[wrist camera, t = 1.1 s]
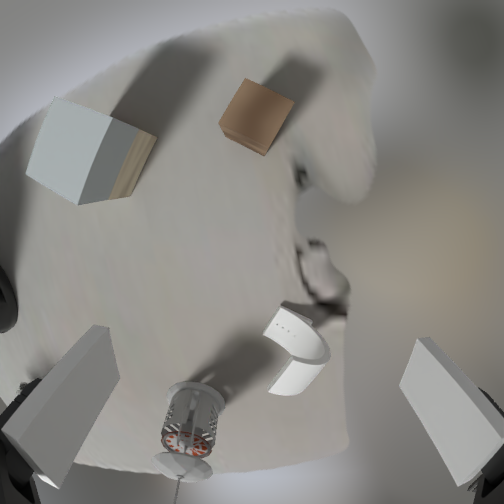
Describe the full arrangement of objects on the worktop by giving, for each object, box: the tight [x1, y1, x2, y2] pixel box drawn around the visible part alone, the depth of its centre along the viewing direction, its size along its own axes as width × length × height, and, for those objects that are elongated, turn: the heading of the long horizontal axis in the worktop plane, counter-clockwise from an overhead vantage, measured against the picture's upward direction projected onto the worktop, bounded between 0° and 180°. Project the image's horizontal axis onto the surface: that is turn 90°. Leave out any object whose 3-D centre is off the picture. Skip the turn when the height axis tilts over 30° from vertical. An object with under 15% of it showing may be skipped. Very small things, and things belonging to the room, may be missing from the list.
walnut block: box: [219, 78, 295, 156], centre depth 26 cm, size 5×5×8 cm
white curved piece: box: [263, 305, 331, 396], centre depth 30 cm, size 5×6×12 cm
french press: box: [152, 381, 225, 504], centre depth 27 cm, size 10×12×25 cm
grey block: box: [26, 97, 139, 205], centre depth 21 cm, size 8×8×6 cm
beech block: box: [108, 129, 158, 200], centre depth 27 cm, size 8×8×6 cm
